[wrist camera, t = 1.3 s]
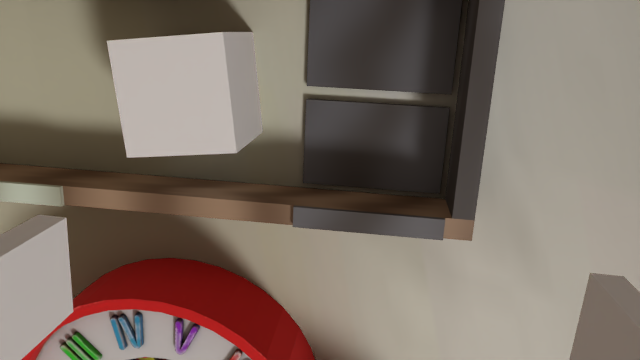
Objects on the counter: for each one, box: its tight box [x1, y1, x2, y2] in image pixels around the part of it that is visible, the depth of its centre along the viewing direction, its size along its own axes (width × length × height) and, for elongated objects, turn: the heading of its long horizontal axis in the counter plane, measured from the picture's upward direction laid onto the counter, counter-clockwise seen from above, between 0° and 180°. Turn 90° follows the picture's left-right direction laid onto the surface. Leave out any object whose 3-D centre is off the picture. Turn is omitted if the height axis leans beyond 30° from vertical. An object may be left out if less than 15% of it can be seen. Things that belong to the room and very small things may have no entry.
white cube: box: [107, 32, 263, 158], centre depth 29 cm, size 6×6×6 cm
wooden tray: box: [0, 0, 505, 241], centre depth 30 cm, size 36×14×4 cm, turn 87°
